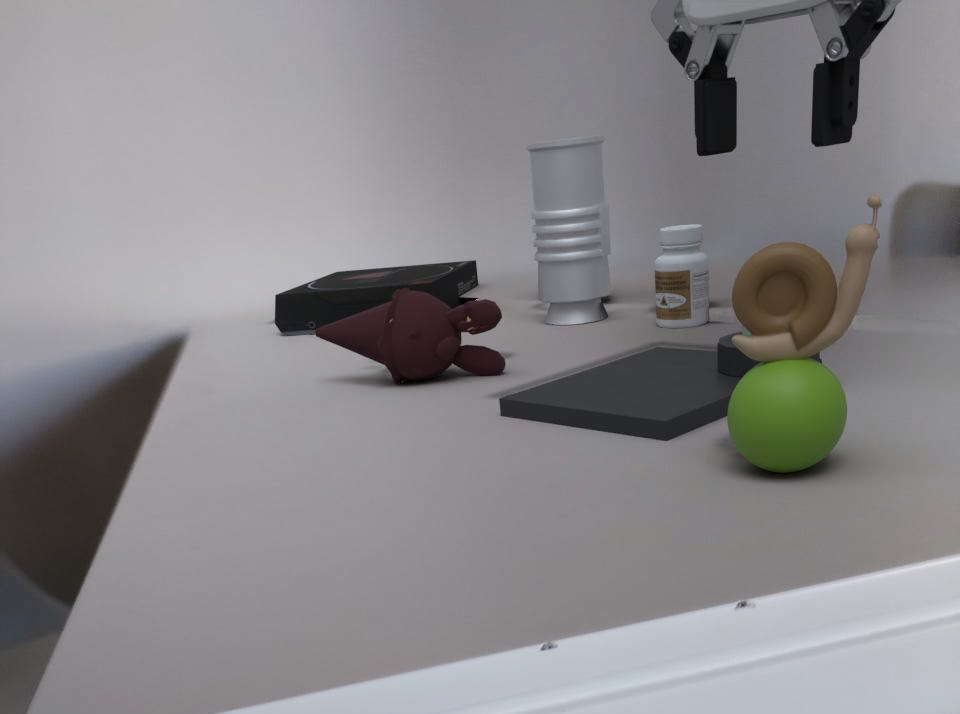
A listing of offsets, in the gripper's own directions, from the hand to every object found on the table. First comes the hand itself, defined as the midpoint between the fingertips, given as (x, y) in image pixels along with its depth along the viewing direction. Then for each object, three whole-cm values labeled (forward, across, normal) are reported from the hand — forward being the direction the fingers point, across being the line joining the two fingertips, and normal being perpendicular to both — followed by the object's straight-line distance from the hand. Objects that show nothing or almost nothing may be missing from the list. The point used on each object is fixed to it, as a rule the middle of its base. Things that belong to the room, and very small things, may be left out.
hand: (771, 146), depth 59 cm
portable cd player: (+14, +54, -12) cm, 58 cm away
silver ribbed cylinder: (+14, +30, -16) cm, 37 cm away
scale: (+14, +4, +5) cm, 15 cm away
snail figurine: (+14, -10, +14) cm, 22 cm away
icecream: (+14, +26, +8) cm, 30 cm away
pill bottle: (+14, +18, -16) cm, 28 cm away
